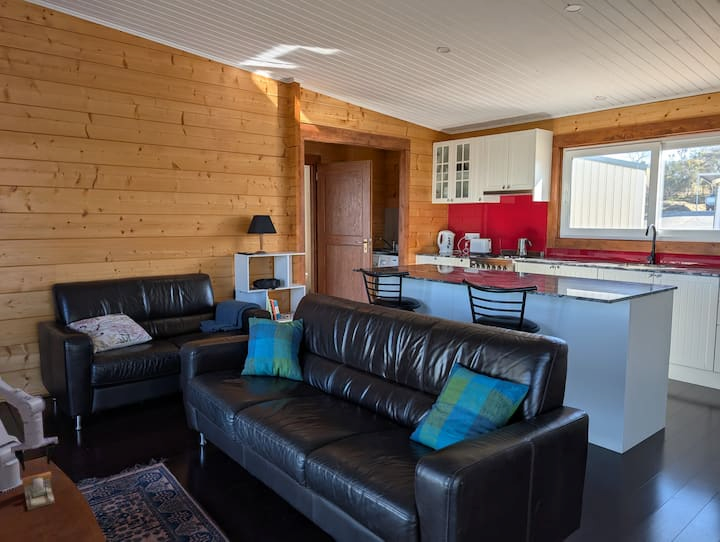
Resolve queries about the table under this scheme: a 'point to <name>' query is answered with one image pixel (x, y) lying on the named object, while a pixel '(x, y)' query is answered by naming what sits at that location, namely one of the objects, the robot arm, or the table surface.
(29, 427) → the robot arm
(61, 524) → the table surface
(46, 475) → the orange brown bar
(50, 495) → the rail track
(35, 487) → the greenish grey block
